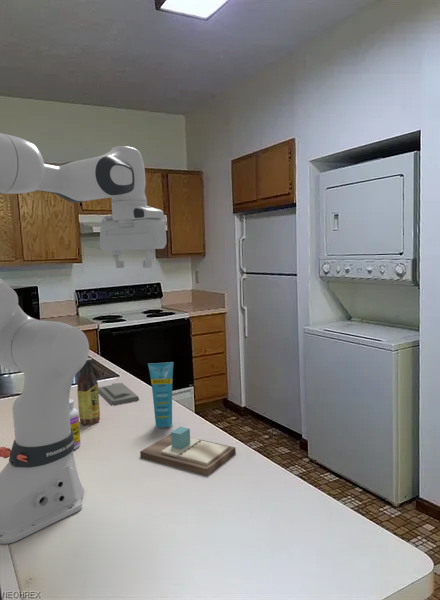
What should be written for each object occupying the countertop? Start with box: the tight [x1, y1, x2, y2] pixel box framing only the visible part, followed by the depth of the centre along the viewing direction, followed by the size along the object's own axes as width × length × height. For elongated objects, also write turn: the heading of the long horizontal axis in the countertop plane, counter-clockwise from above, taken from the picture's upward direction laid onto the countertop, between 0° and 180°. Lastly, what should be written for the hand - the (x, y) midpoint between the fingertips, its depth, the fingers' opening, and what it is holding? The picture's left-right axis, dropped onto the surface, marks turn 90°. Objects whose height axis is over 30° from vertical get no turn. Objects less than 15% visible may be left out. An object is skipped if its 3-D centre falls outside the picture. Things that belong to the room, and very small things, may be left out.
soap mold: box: [98, 382, 140, 406], centre depth 169 cm, size 10×20×4 cm, turn 28°
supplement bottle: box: [69, 398, 81, 451], centre depth 126 cm, size 7×7×13 cm
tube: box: [147, 361, 174, 429], centre depth 138 cm, size 7×5×19 cm, turn 98°
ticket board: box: [139, 433, 237, 476], centre depth 118 cm, size 13×20×2 cm, turn 58°
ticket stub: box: [161, 426, 201, 457], centre depth 119 cm, size 10×5×5 cm, turn 148°
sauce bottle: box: [76, 357, 101, 425], centre depth 143 cm, size 7×6×20 cm
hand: (133, 267), depth 120 cm, fingers open, 8 cm apart
